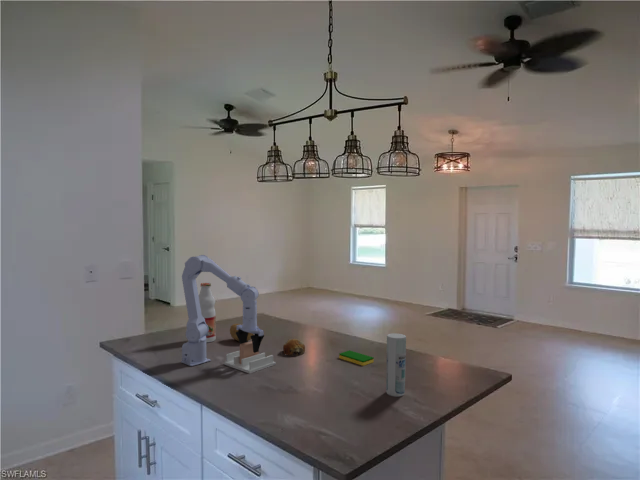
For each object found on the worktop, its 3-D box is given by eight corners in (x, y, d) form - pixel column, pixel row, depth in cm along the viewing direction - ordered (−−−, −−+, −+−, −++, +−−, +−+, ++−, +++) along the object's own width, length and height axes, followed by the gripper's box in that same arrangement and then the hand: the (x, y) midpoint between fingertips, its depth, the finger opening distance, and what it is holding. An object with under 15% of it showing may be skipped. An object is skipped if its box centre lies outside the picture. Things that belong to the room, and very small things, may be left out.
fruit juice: (219, 338, 217) (219, 282, 215) (208, 344, 208) (208, 285, 207) (203, 337, 220) (203, 281, 219) (191, 341, 211) (191, 284, 210)
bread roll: (305, 359, 199) (306, 341, 202) (303, 355, 189) (304, 337, 192) (284, 358, 200) (285, 340, 203) (280, 354, 190) (282, 336, 193)
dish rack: (249, 373, 169) (249, 363, 169) (223, 364, 179) (223, 354, 179) (275, 364, 180) (275, 354, 179) (249, 356, 190) (250, 347, 190)
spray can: (391, 387, 156) (392, 332, 155) (408, 392, 152) (409, 335, 151) (382, 393, 151) (383, 335, 150) (399, 398, 147) (400, 339, 146)
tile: (243, 365, 175) (243, 345, 175) (239, 363, 177) (239, 344, 177) (258, 360, 181) (258, 341, 181) (254, 359, 183) (254, 340, 183)
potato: (243, 346, 205) (243, 329, 205) (224, 340, 214) (224, 324, 214) (259, 341, 212) (259, 325, 212) (240, 336, 222) (240, 320, 221)
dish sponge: (363, 366, 179) (363, 361, 179) (338, 358, 189) (338, 353, 189) (374, 363, 184) (374, 357, 184) (349, 355, 194) (349, 350, 194)
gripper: (269, 318, 177) (269, 351, 177) (245, 313, 186) (245, 344, 187) (256, 321, 171) (255, 355, 172) (232, 315, 181) (232, 348, 181)
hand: (249, 350), depth 179 cm, fingers open, 7 cm apart
